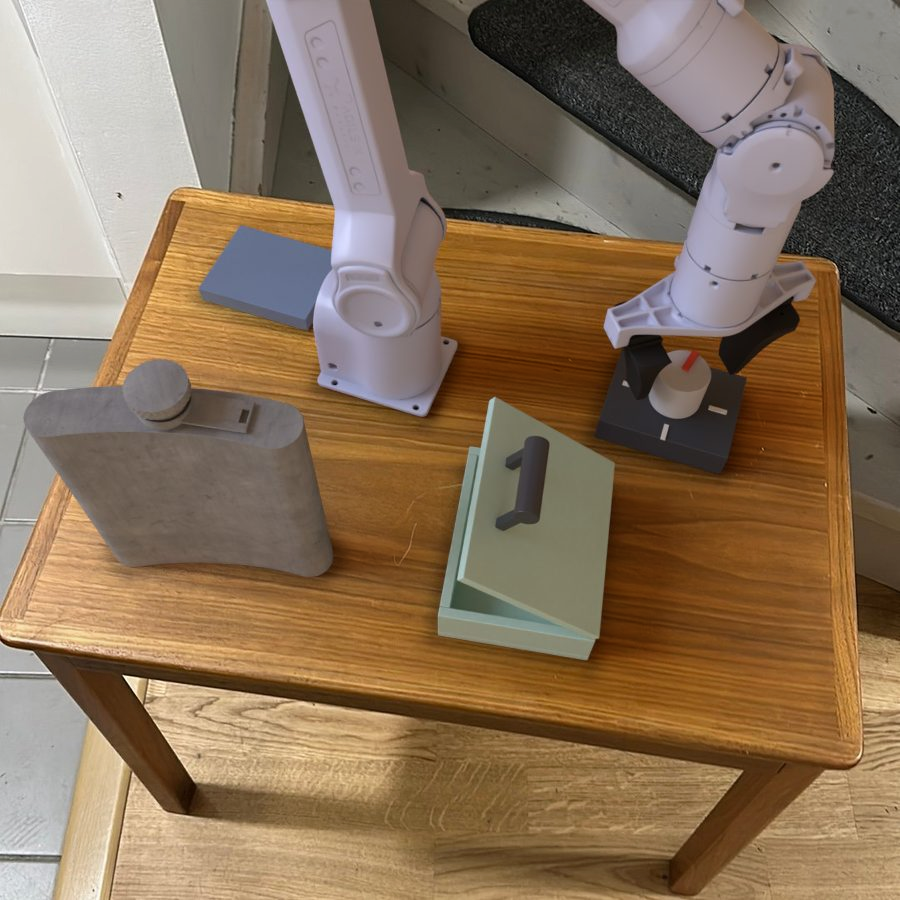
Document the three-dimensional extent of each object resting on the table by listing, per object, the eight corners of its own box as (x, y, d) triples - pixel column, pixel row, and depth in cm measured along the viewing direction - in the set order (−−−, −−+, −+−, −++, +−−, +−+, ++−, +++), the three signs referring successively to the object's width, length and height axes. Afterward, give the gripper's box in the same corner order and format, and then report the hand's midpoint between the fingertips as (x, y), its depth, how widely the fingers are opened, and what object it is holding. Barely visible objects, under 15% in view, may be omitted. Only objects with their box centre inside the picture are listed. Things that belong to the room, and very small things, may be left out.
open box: (437, 635, 64) (437, 615, 61) (468, 471, 71) (469, 445, 68) (587, 660, 63) (595, 641, 60) (603, 492, 70) (611, 467, 67)
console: (593, 438, 73) (598, 419, 70) (619, 360, 77) (624, 340, 74) (719, 476, 71) (728, 458, 69) (738, 394, 75) (748, 374, 73)
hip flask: (110, 566, 66) (-3, 410, 49) (123, 516, 69) (20, 349, 52) (330, 578, 66) (293, 425, 49) (337, 527, 68) (304, 364, 51)
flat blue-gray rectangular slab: (201, 300, 80) (197, 288, 78) (243, 236, 84) (240, 224, 82) (307, 331, 78) (305, 319, 77) (345, 265, 82) (343, 253, 81)
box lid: (456, 580, 55) (498, 561, 52) (488, 400, 62) (528, 373, 59) (592, 640, 60) (639, 626, 57) (608, 466, 67) (651, 444, 64)
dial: (687, 427, 70) (699, 399, 67) (639, 404, 71) (649, 374, 68) (708, 391, 72) (721, 361, 69) (661, 369, 73) (672, 339, 70)
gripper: (802, 180, 61) (743, 314, 72) (599, 228, 58) (572, 358, 70) (858, 255, 57) (788, 384, 69) (645, 309, 55) (609, 433, 66)
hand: (682, 376), depth 69 cm, fingers open, 7 cm apart
